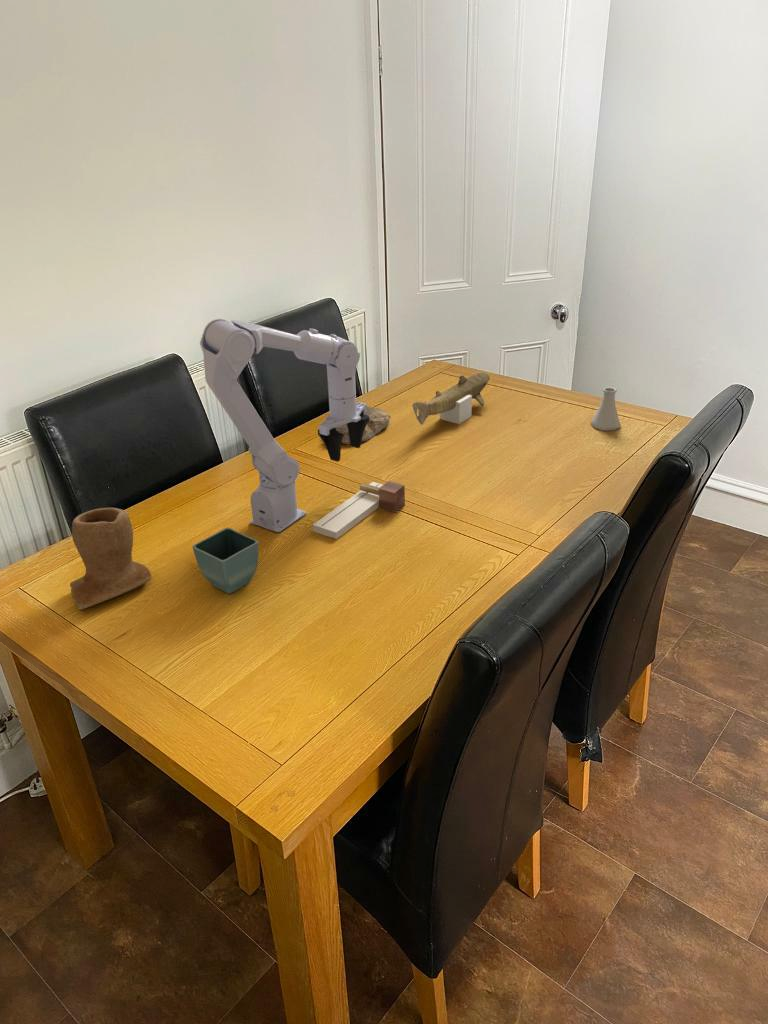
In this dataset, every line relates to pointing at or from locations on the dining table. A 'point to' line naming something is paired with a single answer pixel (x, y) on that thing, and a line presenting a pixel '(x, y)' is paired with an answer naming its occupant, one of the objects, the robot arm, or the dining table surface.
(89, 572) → the stone cup
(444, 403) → the wood carving
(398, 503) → the chocolate popsicle
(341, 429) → the grey brown rock
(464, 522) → the dining table surface
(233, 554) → the flower pot
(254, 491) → the robot arm
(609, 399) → the flask
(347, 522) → the board
